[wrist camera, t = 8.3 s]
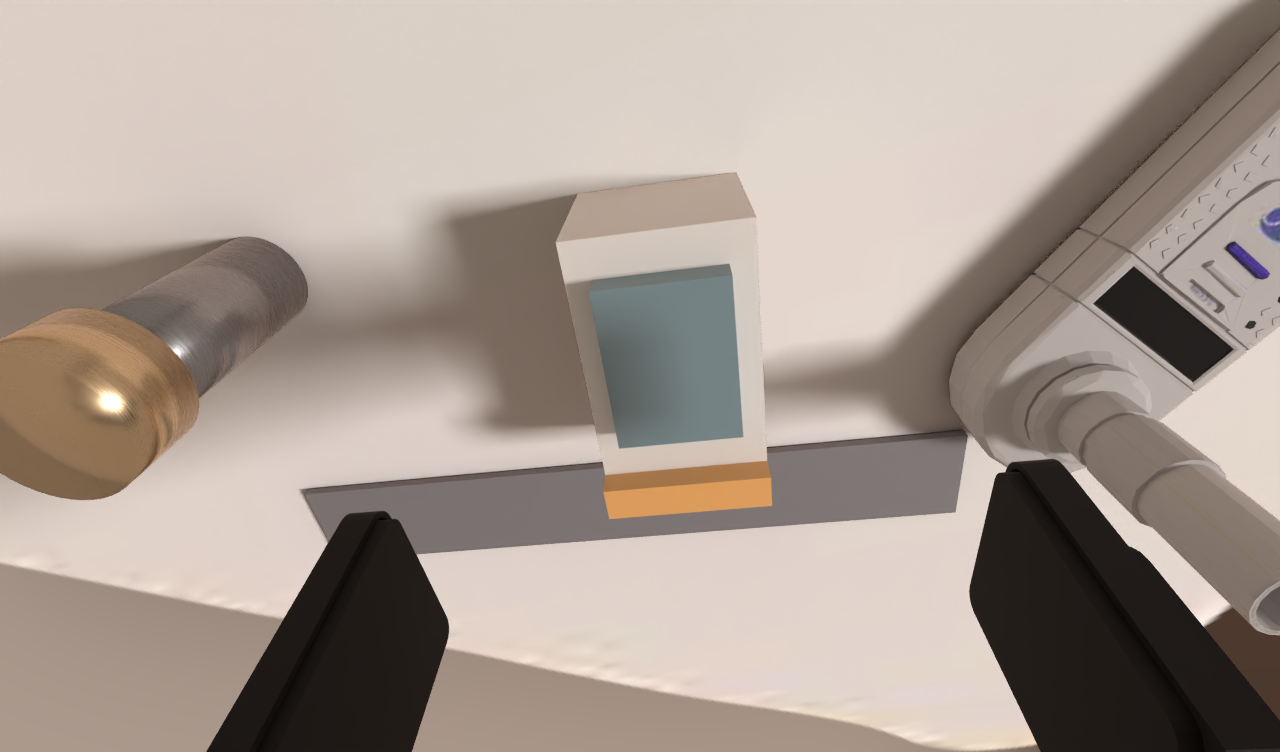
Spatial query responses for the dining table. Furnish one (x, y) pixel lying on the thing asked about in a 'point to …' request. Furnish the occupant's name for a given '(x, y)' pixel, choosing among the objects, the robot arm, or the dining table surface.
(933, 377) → the dining table surface
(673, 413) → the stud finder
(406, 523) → the strip
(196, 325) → the knob
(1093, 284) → the electronic device
